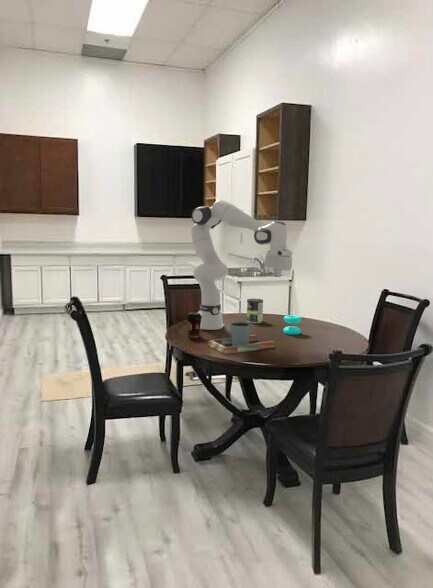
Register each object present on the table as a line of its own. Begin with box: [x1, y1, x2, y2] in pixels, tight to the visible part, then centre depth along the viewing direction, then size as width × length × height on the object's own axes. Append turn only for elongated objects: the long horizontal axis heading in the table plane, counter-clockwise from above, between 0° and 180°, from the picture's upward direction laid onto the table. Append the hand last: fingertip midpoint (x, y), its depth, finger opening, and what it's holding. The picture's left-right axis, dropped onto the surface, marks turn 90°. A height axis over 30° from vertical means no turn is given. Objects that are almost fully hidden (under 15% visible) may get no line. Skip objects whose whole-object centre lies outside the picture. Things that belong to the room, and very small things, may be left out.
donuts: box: [283, 314, 302, 336], centre depth 281 cm, size 10×10×10 cm
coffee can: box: [246, 298, 264, 324], centre depth 312 cm, size 10×10×14 cm
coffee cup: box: [185, 311, 202, 338], centre depth 271 cm, size 9×8×13 cm
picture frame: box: [207, 334, 275, 355], centre depth 251 cm, size 17×29×3 cm, turn 120°
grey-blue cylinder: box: [230, 321, 251, 346], centre depth 250 cm, size 10×10×12 cm
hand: (277, 276), depth 266 cm, fingers closed
